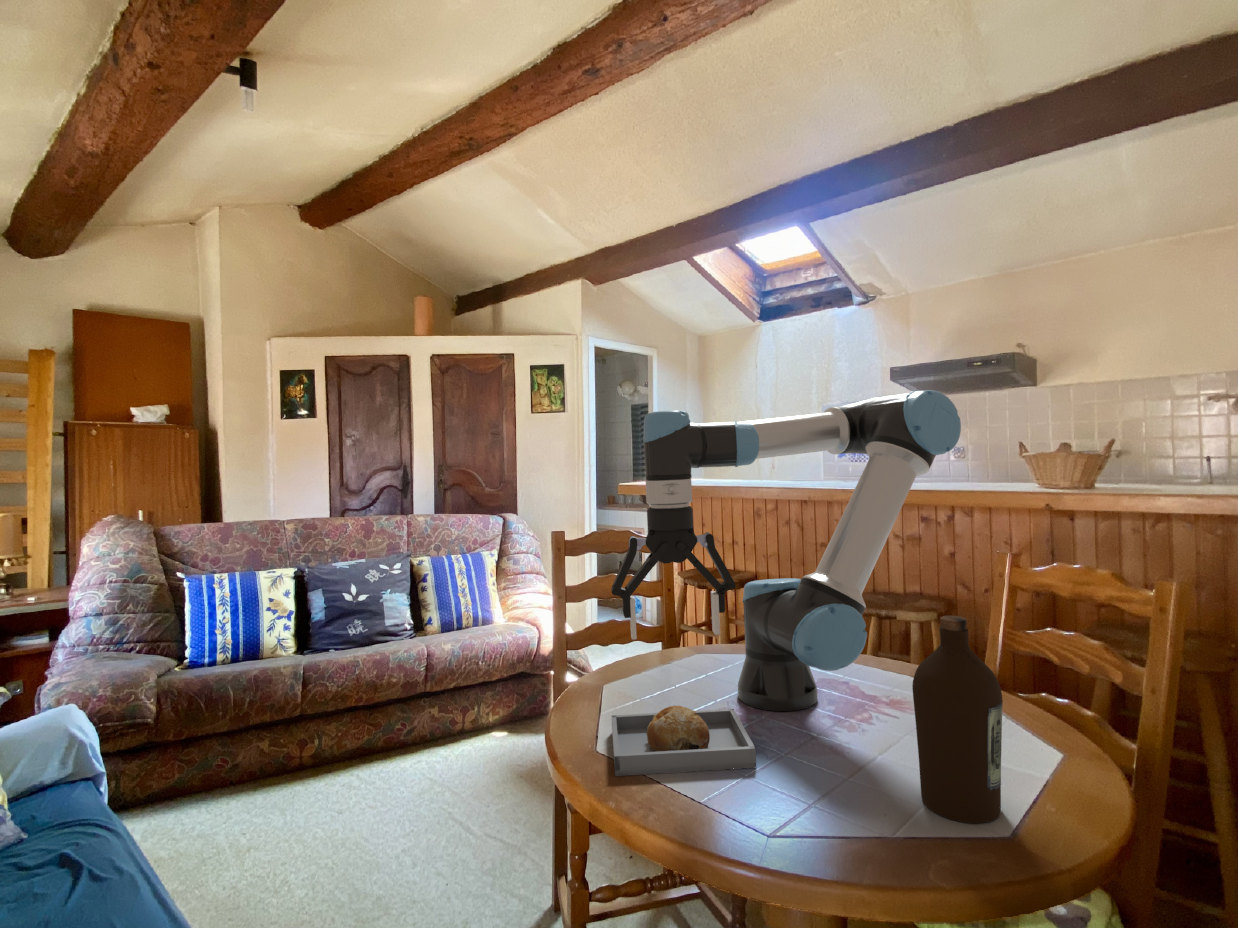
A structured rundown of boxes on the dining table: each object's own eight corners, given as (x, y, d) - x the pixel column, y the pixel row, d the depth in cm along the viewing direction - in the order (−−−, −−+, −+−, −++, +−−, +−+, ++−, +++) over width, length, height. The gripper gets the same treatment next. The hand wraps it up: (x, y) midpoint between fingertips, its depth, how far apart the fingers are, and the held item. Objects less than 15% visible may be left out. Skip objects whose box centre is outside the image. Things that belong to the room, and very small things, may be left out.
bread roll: (662, 783, 100) (672, 745, 97) (632, 733, 108) (640, 697, 105) (714, 767, 105) (725, 730, 102) (681, 720, 113) (690, 685, 110)
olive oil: (910, 813, 84) (903, 623, 84) (922, 777, 93) (916, 606, 93) (1004, 836, 79) (997, 632, 78) (1007, 796, 88) (1001, 613, 87)
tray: (734, 725, 114) (733, 708, 114) (756, 768, 98) (755, 748, 98) (612, 732, 113) (611, 715, 113) (615, 776, 97) (614, 756, 97)
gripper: (593, 511, 101) (599, 645, 101) (750, 503, 102) (756, 636, 102) (593, 507, 109) (598, 632, 109) (739, 500, 110) (744, 624, 110)
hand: (675, 635), depth 106 cm, fingers open, 13 cm apart
